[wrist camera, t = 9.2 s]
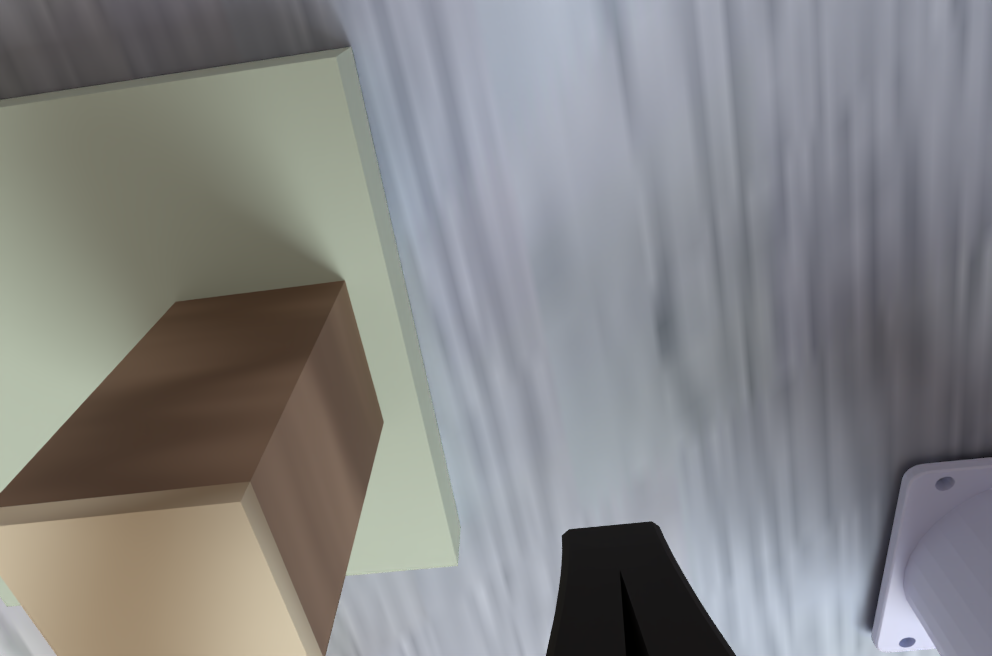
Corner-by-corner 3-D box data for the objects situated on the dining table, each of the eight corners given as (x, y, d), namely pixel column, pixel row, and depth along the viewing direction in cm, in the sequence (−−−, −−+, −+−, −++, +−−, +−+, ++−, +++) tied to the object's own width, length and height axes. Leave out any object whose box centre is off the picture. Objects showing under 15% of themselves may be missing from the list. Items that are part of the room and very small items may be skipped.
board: (351, 46, 14) (336, 56, 13) (460, 527, 21) (457, 565, 20) (-252, 137, 15) (-322, 155, 14) (36, 567, 22) (7, 606, 21)
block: (344, 280, 15) (240, 501, 9) (383, 421, 17) (318, 681, 11) (175, 301, 16) (-33, 529, 10) (232, 438, 18) (88, 700, 12)
